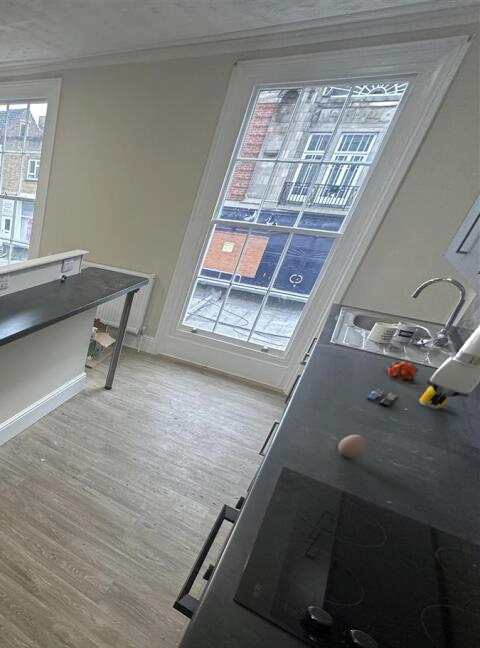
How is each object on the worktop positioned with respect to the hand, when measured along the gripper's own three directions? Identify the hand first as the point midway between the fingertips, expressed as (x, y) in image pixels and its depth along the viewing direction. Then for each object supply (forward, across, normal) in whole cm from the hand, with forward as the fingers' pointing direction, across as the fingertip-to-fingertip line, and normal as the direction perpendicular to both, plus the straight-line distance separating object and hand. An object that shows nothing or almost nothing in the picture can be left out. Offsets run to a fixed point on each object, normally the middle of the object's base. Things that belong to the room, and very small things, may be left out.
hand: (434, 404), depth 144 cm
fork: (+3, +14, +6) cm, 16 cm away
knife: (+3, +10, +6) cm, 12 cm away
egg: (+3, +8, +67) cm, 67 cm away
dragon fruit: (+3, +14, -22) cm, 26 cm away
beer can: (+3, +1, -5) cm, 6 cm away
